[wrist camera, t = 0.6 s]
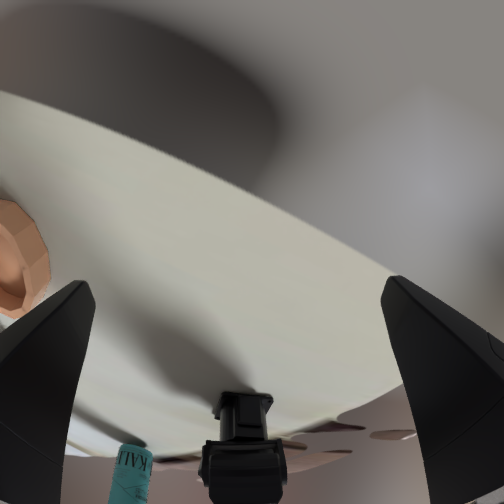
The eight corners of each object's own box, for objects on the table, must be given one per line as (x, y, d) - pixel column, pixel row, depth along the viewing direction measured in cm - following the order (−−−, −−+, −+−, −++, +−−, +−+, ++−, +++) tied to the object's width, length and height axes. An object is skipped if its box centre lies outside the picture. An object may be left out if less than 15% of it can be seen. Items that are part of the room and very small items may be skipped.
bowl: (56, 311, 25) (42, 331, 22) (-10, 285, 24) (-25, 299, 20) (45, 208, 20) (23, 221, 17) (-25, 194, 19) (-45, 204, 15)
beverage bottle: (140, 453, 41) (127, 538, 23) (113, 438, 38) (94, 528, 20) (162, 449, 39) (151, 544, 21) (134, 434, 37) (116, 535, 19)
